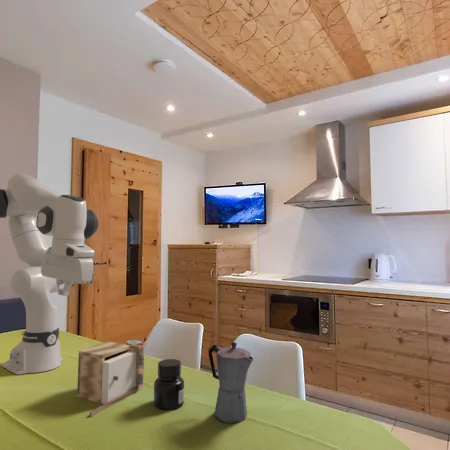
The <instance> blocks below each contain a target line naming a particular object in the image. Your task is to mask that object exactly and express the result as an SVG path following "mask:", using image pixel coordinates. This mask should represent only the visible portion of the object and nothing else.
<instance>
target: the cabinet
mask: <svg viewBox="0 0 450 450" xmlns="http://www.w3.org/2000/svg"><path fill="white" fill-rule="evenodd" d="M143 349H144V350H145V345H138V344H133V345H126V344H125V343H118V342H112V341H105V342H102V343H99V344H96V345H93V346H90V347H86V348H84V349H80V350H78V358H77V359H78V360H77V361H78V365H77V390H76V391H77V393H76V397H77V398H80V399H84V400H88V401H91V402H93V403H94V402H95V403H98V404H101V400H102V367H103V362H104V361H107V360H109V359H112V358H114V357H117V356H119V355H122V354H125V353H127V352H130V351H132V352H136V388H134V389H132V390H130V391H128V392H126V393H125V394H123V395H121V396H119V397H117V398H115V399H113V400H112V401H110V402H108V403H106V404H102V405H100V406H99V407H97V408H95V409H93V410H91V411H89V413H88V415H89V417H90V418H91V417H94V416H96V415H98V414H99V413H101V412H103V411H105V410H107V409H108V408H111V407H112V406H114V405H115V404H118V403H119V402H121V401H123V400H125V399H126V398H128V397H130V396H132V395H134V394H135V393H137V392H139V391H141V390H143V387H144V385H143V384H144V370H143V364H144V365H145V354H144V355H143Z"/></svg>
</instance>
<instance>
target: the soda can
mask: <svg viewBox="0 0 450 450" xmlns="http://www.w3.org/2000/svg"><path fill="white" fill-rule="evenodd" d="M133 344H138V345H144V343H143V339H129V340H127V341H126V344H125V345H133ZM144 346H145V345H144ZM143 355H144V356H145V348H144V349H143ZM144 367H145V363H144V364H143V371H144V369H145V368H144Z"/></svg>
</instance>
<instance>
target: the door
mask: <svg viewBox="0 0 450 450" xmlns="http://www.w3.org/2000/svg"><path fill="white" fill-rule="evenodd" d="M134 388H136V352H132V351H130V352H127V353H125V354H122V355H119V356H117V357H114V358H112V359H109V360H107V361H104V362H103V367H102V400H101V403H100V405H101V404H102V405H104V404H106V403H108V402H110V401H112V400H113V399H115V398H117V397H119V396H121V395H123V394H125V393H126V392H128V391H130V390H132V389H134Z"/></svg>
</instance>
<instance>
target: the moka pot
mask: <svg viewBox="0 0 450 450" xmlns="http://www.w3.org/2000/svg"><path fill="white" fill-rule="evenodd" d="M230 344H231V346H229V347H222V346H218V345H216V344H213V345H212V346H211V347H210V348H209V350H208V358H209V363H210V368H211V373H212V377H213V378H214V379H216V380H218V381H219V382H218V383H219V387H218V392H217V397H216V403H215V408H214V416H215V417H216V418H217V420H220V421H222V422H224V423H227V424H237V423H240V422H243V421H244V420H245V419H246V418H247V416H248V415H247V414H248V411H247V400H246V399H247V398H246V389H245V388H246V381H247V378H248V377H247V376H248V371H249V368H250V367H251V364H252V362H254V361H255V360H254V357H253V356H252V355H251V352H250V351H248V350H247V349H245V348H242V347H237V345H238V344H237V342H231V343H230ZM213 352H215V354H216V365H217V373H216V370H215V368H216V367H215V363H214V357H213Z"/></svg>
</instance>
